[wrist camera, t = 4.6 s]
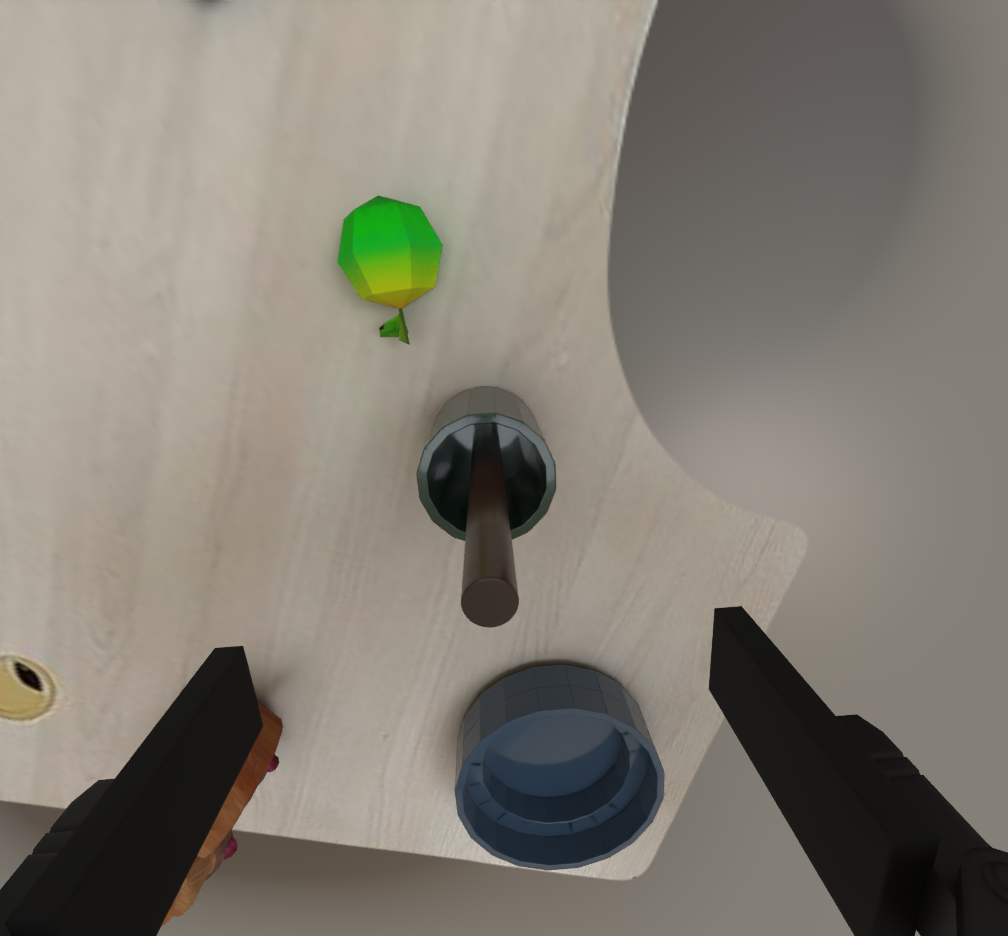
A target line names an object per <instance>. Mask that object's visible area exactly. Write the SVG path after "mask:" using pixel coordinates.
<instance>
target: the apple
mask: <svg viewBox="0 0 1008 936" xmlns="http://www.w3.org/2000/svg"><path fill="white" fill-rule="evenodd" d="M442 246H443V245H442V243H441V242H440V240H439V238H438V236H437V235H436V233H435V231H434V230H433V228H432V226H431V225H430V223H429V221H428V220H427V218H426V216H425V215H424V213H423V211H422V210H421V208H420V207H419V206H415V205H411V204H408V203H404V202H400V201H397V200H393V199H389V198H385V197H382V196H377V197H375V198H373V199H372V200H370V201H368V202H366V203H365V204H363V205H361V206H360V207H358V208H356V209H355V210H354V211H352V212H351V213H350V214H349V215H348V216H347V217H346V218H345V219H344V223H343V230H342V236H341V243H340V250H339V257H338V264H339V265H340V267H341V268H342V270H343V271H344V273H345V274H346V276H347V277H348V279H349V281H350V282H351V284H352V285H353V287H354V288H355V290H356V291H357V293H358V294H359V296H360V297H361V299H363V300H367V301H372V302H376V303H380V304H384V305H388V306H392V307H396V308H399V315H398V316H396V317H395V318H393V319H391V320H390V321H388V322H387V323H385V324H384V325H383V326H381V327H380V337H399V340H400V341H402V342H405V343H407V344H409V339H408V334H407V333H408V330H407V328H406V325H405V320H404V316H403V311H402V308H403V307H405V306H406V305H408V304H409V303H411V302H413V301H414V300H416V299H417V298H419V297H420V296H422V295H423V294H425V293H426V292H428V291H429V290H431V289H432V288H434V287H435V282H436V277H437V272H438V267H439V262H440V256H441V251H442ZM409 345H410V344H409Z"/></svg>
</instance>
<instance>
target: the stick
mask: <svg viewBox="0 0 1008 936" xmlns="http://www.w3.org/2000/svg"><path fill="white" fill-rule="evenodd" d="M518 605H519V597H518V589H517V581H516V572H515V564H514V556H513V548H512V539H511V531H510V523H509V515H508V506H507V498H506V490H505V482H504V473H503V465H502V457H501V449H500V440H499V437H498V435H497V433H496V432H495V431H493V430H491V429H481V430H479V431H478V432H477V433H476V434H475V435H474V437H473V444H472V457H471V471H470V485H469V498H468V512H467V526H466V539H465V553H464V566H463V580H462V594H461V607H462V610H463V612H464V614H465V615H466V617H467V618H468V619H469V620H470V621H471V622H473V623H474V624H477V625H479V626H482V627H497V626H500V625H503V624H505V623H506V622H508V621H509V620H510V619H511V618H512V617H513V616H514V614H515V613H516V611H517V609H518Z"/></svg>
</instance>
